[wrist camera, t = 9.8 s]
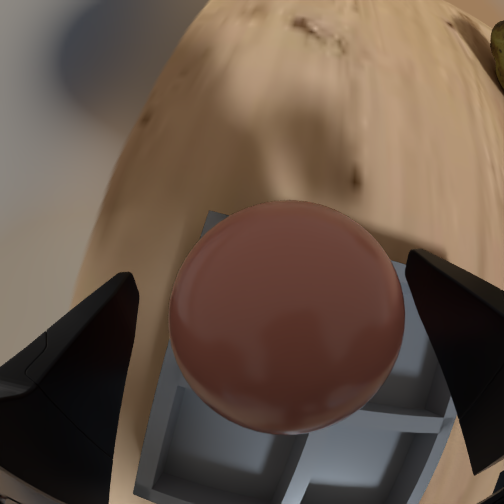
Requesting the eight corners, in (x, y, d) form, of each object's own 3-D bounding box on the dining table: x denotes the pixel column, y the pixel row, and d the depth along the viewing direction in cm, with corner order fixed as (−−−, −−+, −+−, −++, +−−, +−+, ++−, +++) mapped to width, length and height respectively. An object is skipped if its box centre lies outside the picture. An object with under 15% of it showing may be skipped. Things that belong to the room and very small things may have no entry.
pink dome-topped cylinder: (333, 336, 17) (492, 356, 4) (250, 383, 16) (237, 523, 4) (286, 255, 18) (348, 111, 5) (203, 301, 17) (81, 249, 5)
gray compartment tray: (385, 514, 14) (400, 534, 11) (148, 473, 15) (132, 493, 12) (457, 294, 18) (483, 289, 15) (216, 227, 19) (209, 210, 16)
